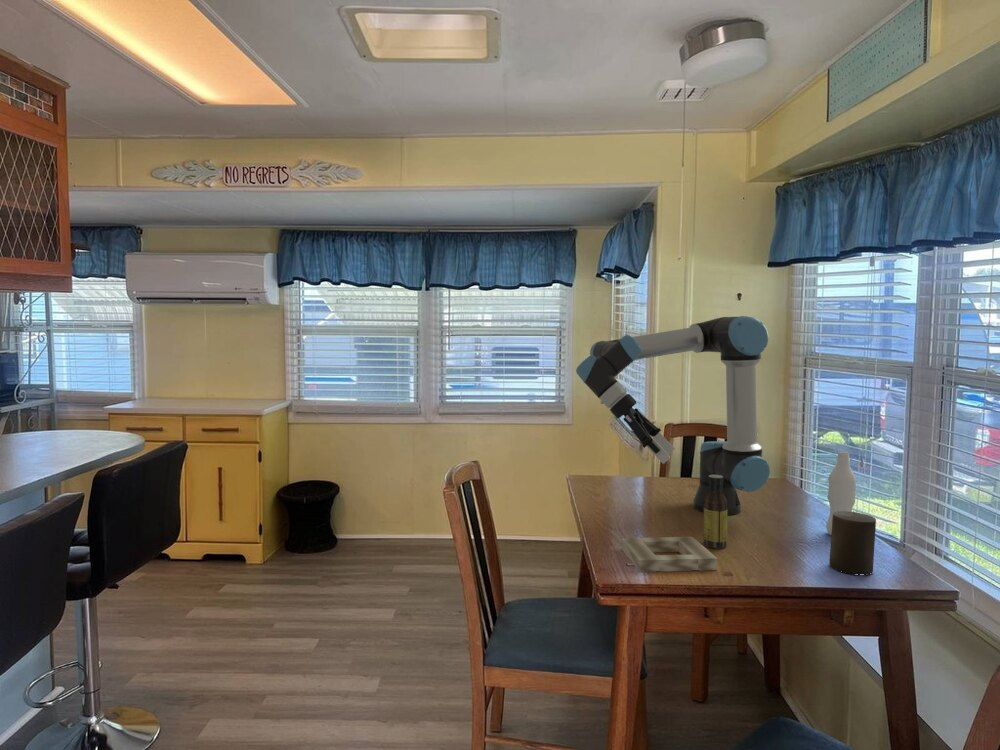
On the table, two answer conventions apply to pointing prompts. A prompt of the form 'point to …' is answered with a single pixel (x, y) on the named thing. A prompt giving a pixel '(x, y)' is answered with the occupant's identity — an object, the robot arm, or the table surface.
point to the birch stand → (689, 559)
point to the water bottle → (841, 487)
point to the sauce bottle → (715, 514)
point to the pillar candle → (852, 542)
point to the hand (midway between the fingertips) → (669, 456)
